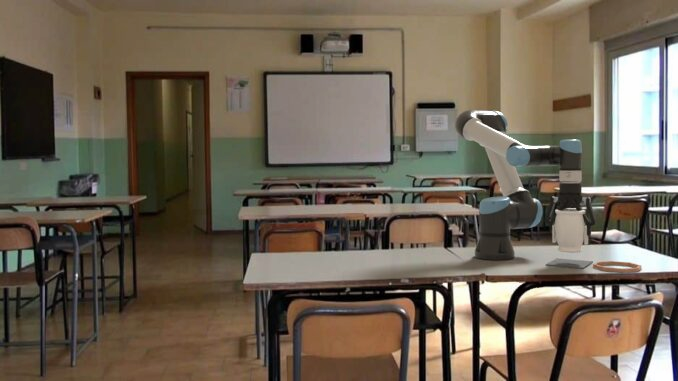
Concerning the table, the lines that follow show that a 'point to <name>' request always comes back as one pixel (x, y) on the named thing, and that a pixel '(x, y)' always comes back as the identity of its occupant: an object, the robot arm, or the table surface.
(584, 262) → the mat
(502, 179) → the robot arm
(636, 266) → the brown wooden ring
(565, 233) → the jar
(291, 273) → the table surface
